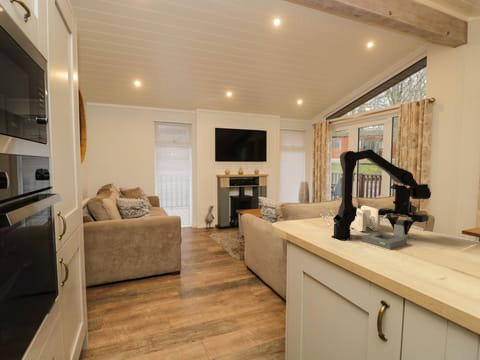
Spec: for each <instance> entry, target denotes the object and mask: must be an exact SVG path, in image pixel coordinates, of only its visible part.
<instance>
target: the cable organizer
mask: <svg viewBox="0 0 480 360" xmlns="http://www.w3.org/2000/svg"><path fill="white" fill-rule="evenodd" d="M379 209H380V208H376V207H372V206H368V205H362V206H361V207H360V208H358V207H357V212H356V215H357V217H356V216H355V220H354V221H353V222H352V223H351V226H350V227H354V228H355V229H356V230H355V229H354V230H355V231H357V230H358V231H357V232H359V231H365V232H366V229H367V228H366V227H370V229H369V230H371V228H372V231H374V232H380V229H381V215H378V210H379Z"/></svg>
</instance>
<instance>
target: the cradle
mask: <svg viewBox="0 0 480 360" xmlns="http://www.w3.org/2000/svg"><path fill="white" fill-rule="evenodd" d="M415 239H416V236H415V235H411V234H408V238H407V242H410V241H413V240H415Z"/></svg>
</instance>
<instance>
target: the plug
mask: <svg viewBox="0 0 480 360" xmlns="http://www.w3.org/2000/svg"><path fill="white" fill-rule="evenodd" d="M393 235H394V236H398V237H402V238H406V239H407V238H408V235H409V233H408V234H407V235H405V232H404V219H399V218H398V220H396V224H394V229H393Z"/></svg>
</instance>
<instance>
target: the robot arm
mask: <svg viewBox="0 0 480 360" xmlns="http://www.w3.org/2000/svg"><path fill="white" fill-rule="evenodd" d="M361 160H368V161H369V162H370V163H372V164H373V165H375V166H377V167H378V168H379V169H381V170H382V171H384V172H385V173H386V174H387V175H388V176H389V178H390V179H392V180H393V181H394V182H395V183H393V185H391V186H389V188H390V189H392V190H394V200H393V201H392V204H394V209H393V208H389V207H383V208H382V207H381V208H378V209H379V210H378V215H380V216H383V217H385V219H387V221H389V223H390V225H391V228H392V230H394V224H396V220H399V217H402V218H406V219H405V220H404V219H403V220H404V232H405V235H407V234H408V235H409V232H410V229H411V227H412V225H413V224H414V223H424V222H428V221H429V216H428V214H426V213H421V212H417V209H418V208H417V207H416V206H414V205H412V201H411V199H413V200H429V199H430V198H431V196H432V192H431V188H430V187H429V184H428V183H421V184H418V182H417V181H416V180H415V178H414V174H413V173H412V172H410V171H408V170H407V169H404V168H401V167H398V166H396V165H395V164H393V163H392V162H390V161H388V159H387V160H386V159H385V158H384V157H382V156H381V155H380V154H378V153H377V152H376V151H374V150H373V149H370V148H369V149H364V150H358V151H353V150H347V151H343V152H342V153H341V154H340V155H339V162H340V166H341V170H342V185H341V186H342V188H341V202H340V205H339V208H338V212H337V214H336V215H335V216H334V217H333V218H332V220H333V222H334V223H333V235H331V238H334V239H337V240H339V241H347V240H350V239H352V238H353V237H352V236H351V228H350V226H351V223H352V222H353V221H354V220H355V216H356V217H357V215H356V212H357V208H358V207H357V206H354V204H353V195H354V194H353V193H354V192H353V189H354V188H353V187H354V170H355V168H356V165H357V164H358V163H357V162H358V161H361ZM399 184H400V185H399Z"/></svg>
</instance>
